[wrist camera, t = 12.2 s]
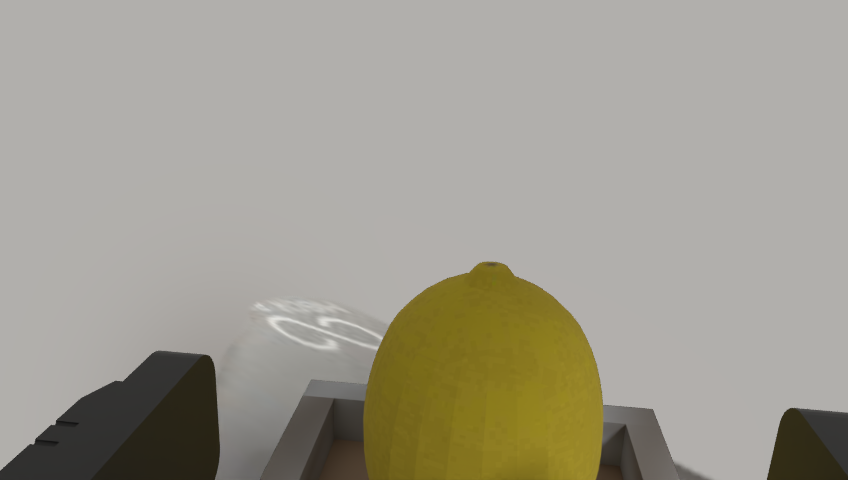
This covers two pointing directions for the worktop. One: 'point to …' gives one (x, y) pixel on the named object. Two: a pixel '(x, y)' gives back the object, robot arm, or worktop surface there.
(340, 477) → the square wooden box
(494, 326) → the lemon
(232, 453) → the worktop surface
